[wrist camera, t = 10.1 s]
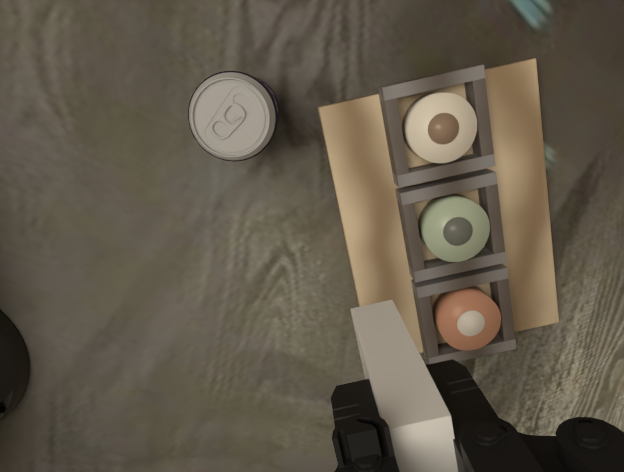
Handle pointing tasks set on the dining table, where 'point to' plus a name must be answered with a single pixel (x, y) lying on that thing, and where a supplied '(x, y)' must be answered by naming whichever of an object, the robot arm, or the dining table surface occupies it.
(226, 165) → the dining table surface
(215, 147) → the beverage can
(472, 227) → the sage button
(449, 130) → the cream button
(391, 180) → the panel
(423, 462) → the robot arm
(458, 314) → the terracotta button
